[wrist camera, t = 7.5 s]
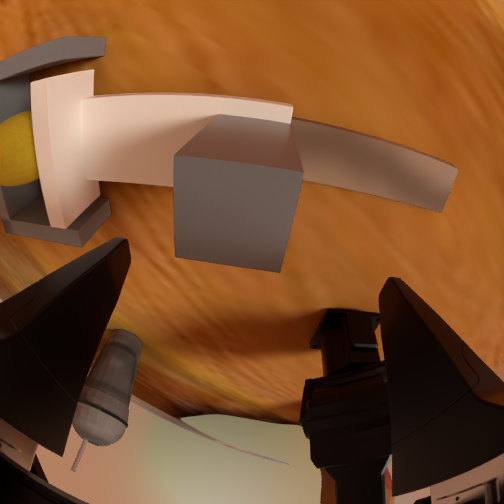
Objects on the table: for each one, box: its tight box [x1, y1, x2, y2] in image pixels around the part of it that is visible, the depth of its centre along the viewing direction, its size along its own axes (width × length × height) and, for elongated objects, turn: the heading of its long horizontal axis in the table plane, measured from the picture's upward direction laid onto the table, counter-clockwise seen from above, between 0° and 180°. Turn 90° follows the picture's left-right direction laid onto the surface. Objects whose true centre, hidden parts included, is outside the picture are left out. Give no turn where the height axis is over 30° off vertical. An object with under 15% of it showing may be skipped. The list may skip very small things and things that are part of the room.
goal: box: [0, 37, 111, 247], centre depth 16 cm, size 15×10×5 cm, turn 173°
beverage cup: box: [71, 329, 143, 472], centre depth 26 cm, size 7×7×20 cm
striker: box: [31, 69, 304, 273], centre depth 13 cm, size 10×15×10 cm, turn 83°
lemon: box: [0, 110, 40, 186], centre depth 14 cm, size 6×6×8 cm
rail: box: [291, 117, 459, 213], centre depth 18 cm, size 4×16×1 cm, turn 83°
